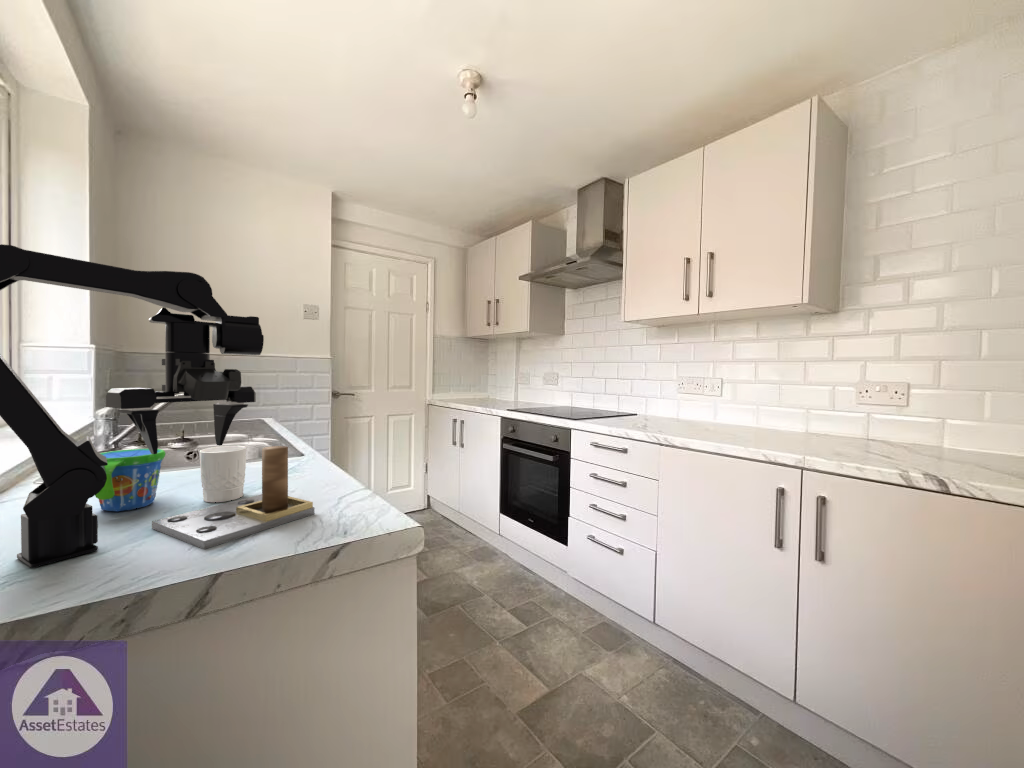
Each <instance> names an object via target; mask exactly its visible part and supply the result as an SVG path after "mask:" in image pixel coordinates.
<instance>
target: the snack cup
mask: <svg viewBox="0 0 1024 768" xmlns="http://www.w3.org/2000/svg"><path fill="white" fill-rule="evenodd" d="M99 453H100V454H102V455H104V456H106V459H107V463H108V465H106V466H105V470H106V475H107V481H106V483H105V486H104V487H103V488H102V490H101V491H100V492H99V493H97V494H96V495H94V497H95V498H97V500H98V502H99V506H100V508H101V511H106V512H122V511H123V512H124V511H130V510H136V508H137V509H140V508H145V507H147V506H149V505H151V504H152V503H154V501H155V499H156V497H157V490H158V484H159V480H160V474H161V467H162V465H161V464H162V462H163V460H164V458H165V457H166V451H165V450H164V449H162V448H161V449H160V448H158V450H157V454H151V452H150V450H149V449H148V448H134V449H122V450H121V449H120V450H111V451H105V452H99Z"/></svg>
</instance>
